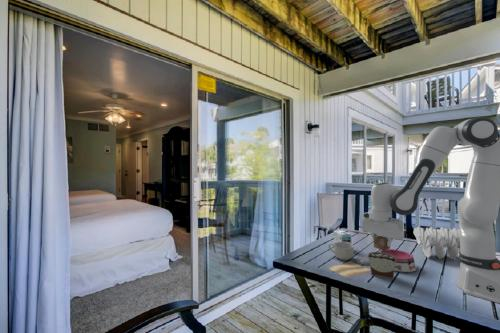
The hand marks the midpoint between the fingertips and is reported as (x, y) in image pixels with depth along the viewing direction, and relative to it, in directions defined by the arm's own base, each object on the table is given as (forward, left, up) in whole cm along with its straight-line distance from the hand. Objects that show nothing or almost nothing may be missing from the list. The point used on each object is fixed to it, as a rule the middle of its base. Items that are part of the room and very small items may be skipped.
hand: (381, 244), depth 119 cm
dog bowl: (+4, -16, -15) cm, 22 cm away
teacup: (+26, 0, -15) cm, 30 cm away
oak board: (+12, +9, -15) cm, 21 cm away
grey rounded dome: (+15, -6, -15) cm, 22 cm away
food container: (0, 0, -15) cm, 15 cm away
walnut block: (0, 0, -2) cm, 2 cm away
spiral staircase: (-2, -50, -15) cm, 52 cm away
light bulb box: (+37, -13, -15) cm, 42 cm away
